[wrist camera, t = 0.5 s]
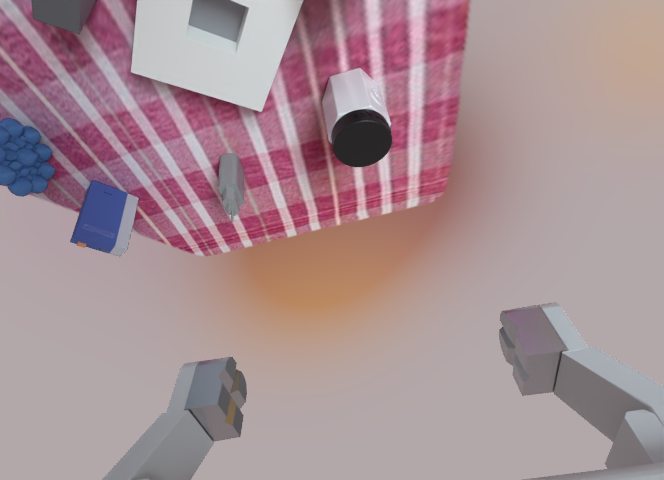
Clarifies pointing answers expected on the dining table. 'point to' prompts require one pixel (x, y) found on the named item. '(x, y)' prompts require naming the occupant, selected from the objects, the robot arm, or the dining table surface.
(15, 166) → the grapes
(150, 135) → the dining table surface
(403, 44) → the dining table surface
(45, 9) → the gray rectangular block
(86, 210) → the walkman
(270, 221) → the dining table surface
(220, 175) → the power adapter
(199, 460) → the robot arm
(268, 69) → the outlet block
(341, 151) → the jar
